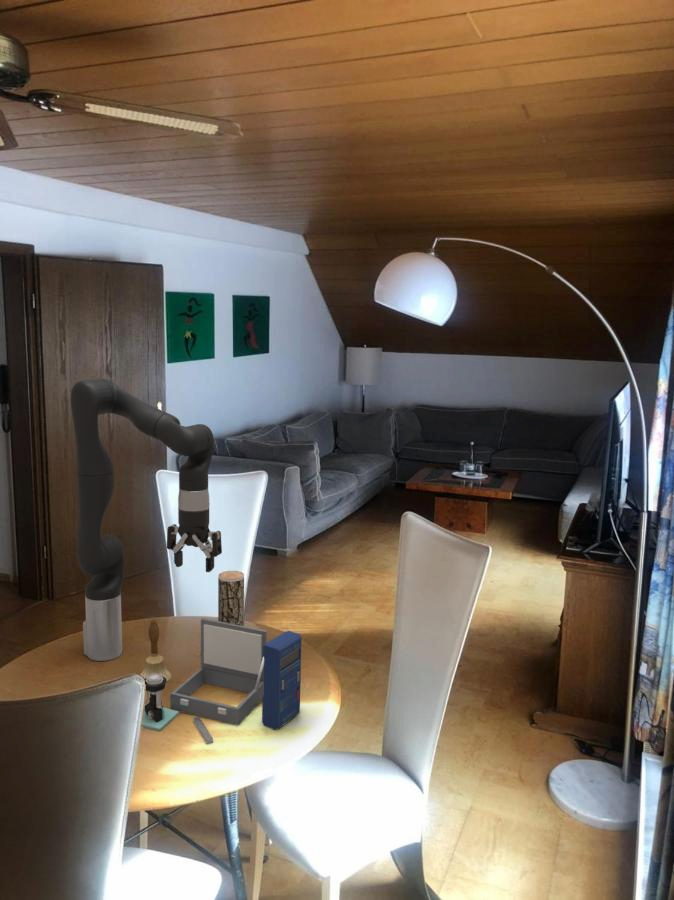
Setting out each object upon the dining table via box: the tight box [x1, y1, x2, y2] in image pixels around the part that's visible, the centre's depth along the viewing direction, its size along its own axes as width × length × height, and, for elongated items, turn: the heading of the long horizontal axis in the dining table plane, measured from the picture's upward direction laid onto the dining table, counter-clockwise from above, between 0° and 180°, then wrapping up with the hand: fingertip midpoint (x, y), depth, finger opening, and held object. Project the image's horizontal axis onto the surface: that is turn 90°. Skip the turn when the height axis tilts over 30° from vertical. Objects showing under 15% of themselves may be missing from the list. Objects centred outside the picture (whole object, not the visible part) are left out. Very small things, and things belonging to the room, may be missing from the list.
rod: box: [192, 716, 214, 745], centre depth 169 cm, size 10×1×1 cm, turn 28°
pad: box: [140, 707, 180, 732], centre depth 174 cm, size 8×8×1 cm
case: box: [169, 618, 268, 726], centre depth 181 cm, size 19×16×17 cm
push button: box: [143, 673, 168, 722], centre depth 174 cm, size 7×5×10 cm
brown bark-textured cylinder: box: [217, 570, 245, 626], centre depth 200 cm, size 7×7×25 cm
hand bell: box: [139, 619, 172, 683], centre depth 192 cm, size 8×8×16 cm
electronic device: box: [261, 630, 303, 730], centre depth 174 cm, size 10×5×20 cm, turn 148°
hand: (194, 568), depth 187 cm, fingers open, 8 cm apart
